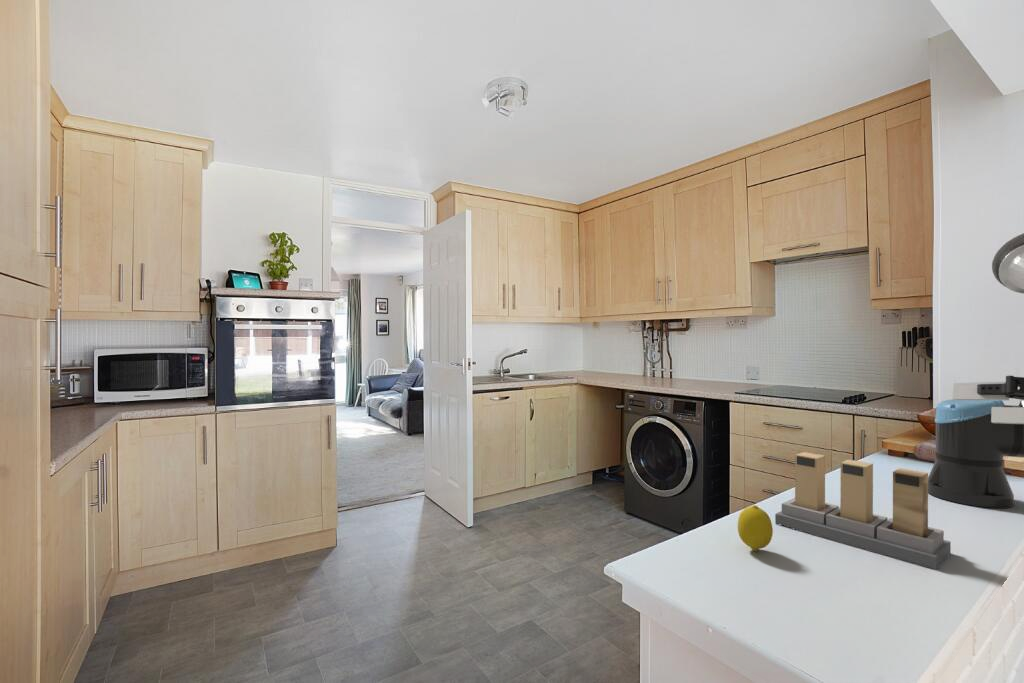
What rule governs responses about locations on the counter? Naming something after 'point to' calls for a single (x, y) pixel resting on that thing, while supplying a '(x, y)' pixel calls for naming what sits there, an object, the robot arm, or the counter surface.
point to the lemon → (755, 527)
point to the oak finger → (910, 502)
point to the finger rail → (854, 514)
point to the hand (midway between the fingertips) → (973, 403)
